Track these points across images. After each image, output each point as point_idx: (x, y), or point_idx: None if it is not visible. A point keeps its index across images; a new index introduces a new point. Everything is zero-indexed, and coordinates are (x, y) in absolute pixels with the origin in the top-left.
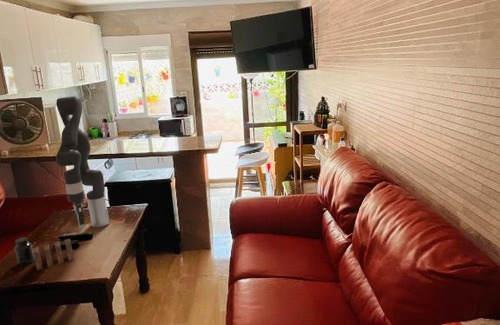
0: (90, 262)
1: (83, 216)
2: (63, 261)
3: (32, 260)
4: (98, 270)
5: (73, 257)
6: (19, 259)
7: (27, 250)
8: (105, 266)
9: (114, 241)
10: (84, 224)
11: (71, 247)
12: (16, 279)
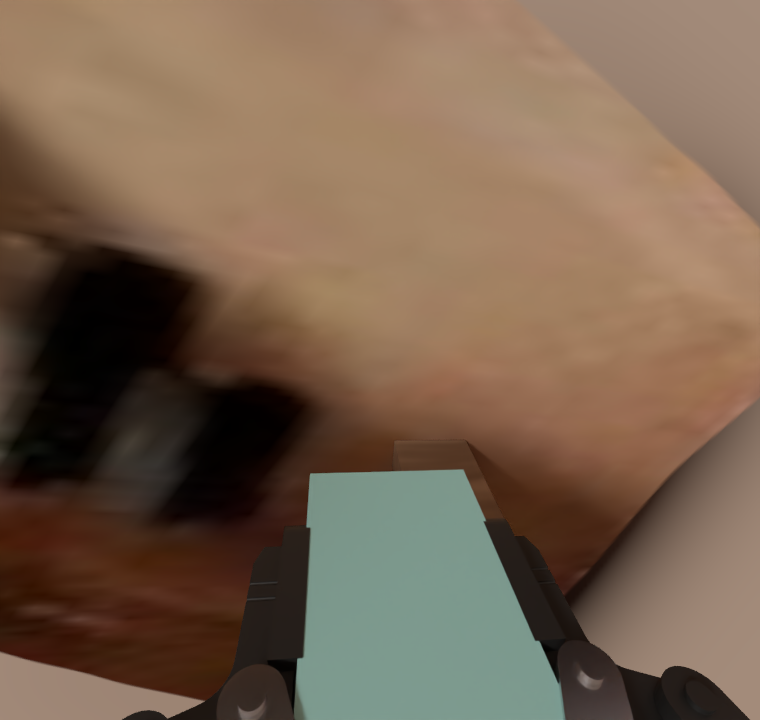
0: (589, 359)
1: (727, 710)
2: None
3: None
4: (729, 336)
5: (469, 450)
6: None
7: None
8: (728, 285)
9: (386, 86)
10: (476, 502)
11: (499, 509)
12: None
